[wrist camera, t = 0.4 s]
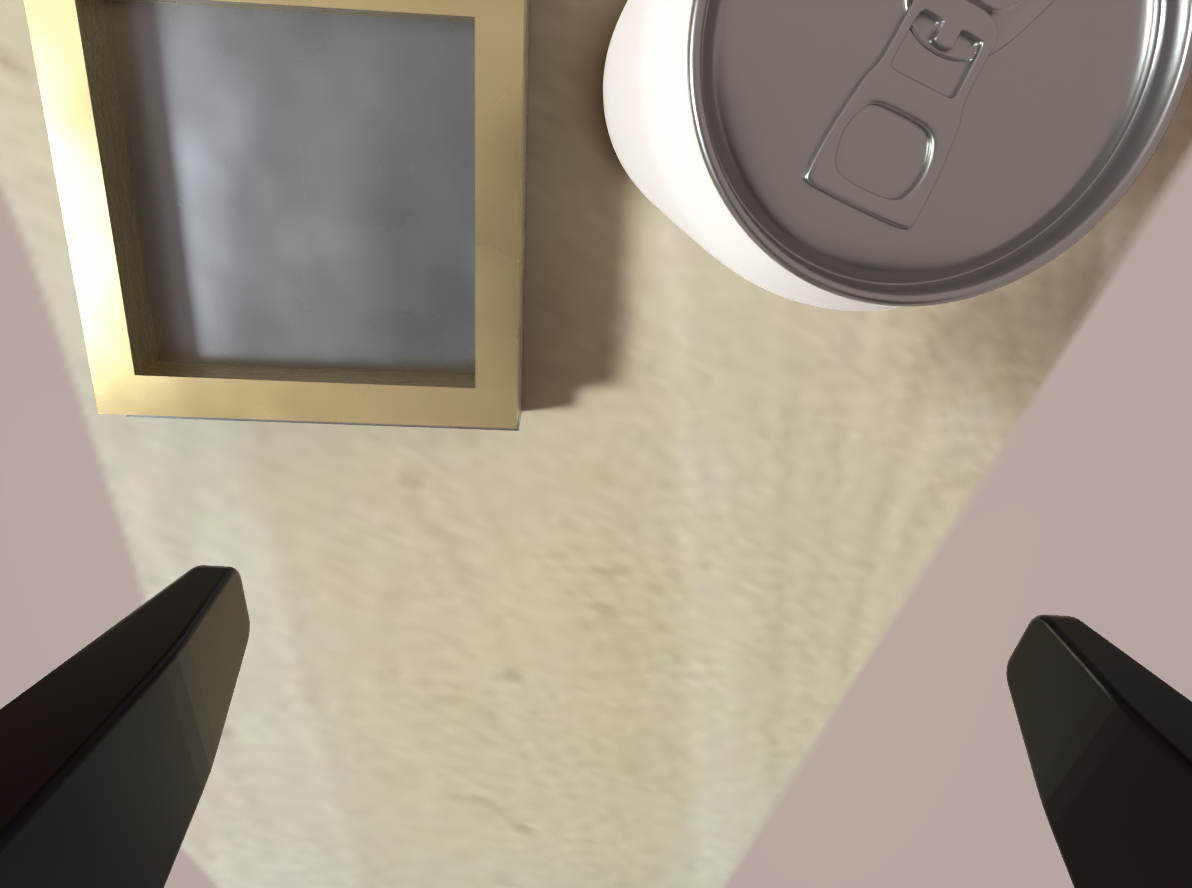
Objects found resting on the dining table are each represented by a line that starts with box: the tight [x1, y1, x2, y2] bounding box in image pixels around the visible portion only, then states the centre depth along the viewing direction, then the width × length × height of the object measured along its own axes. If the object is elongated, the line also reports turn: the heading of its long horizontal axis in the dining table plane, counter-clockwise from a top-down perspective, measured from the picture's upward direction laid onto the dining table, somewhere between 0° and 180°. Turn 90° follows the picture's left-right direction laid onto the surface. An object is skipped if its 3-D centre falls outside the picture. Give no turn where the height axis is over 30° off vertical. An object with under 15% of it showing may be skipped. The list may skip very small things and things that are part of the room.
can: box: [603, 0, 1192, 311], centre depth 14 cm, size 6×6×12 cm
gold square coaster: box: [24, 0, 530, 431], centre depth 19 cm, size 11×10×3 cm
